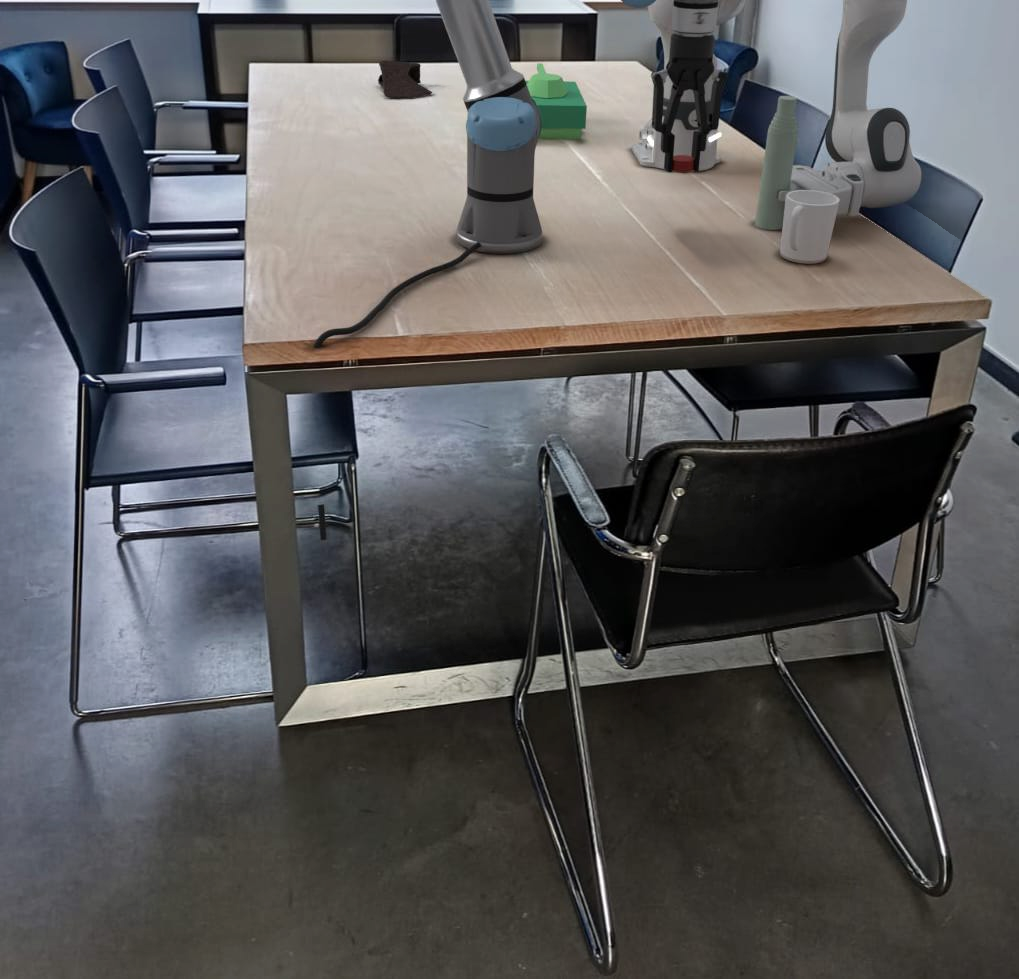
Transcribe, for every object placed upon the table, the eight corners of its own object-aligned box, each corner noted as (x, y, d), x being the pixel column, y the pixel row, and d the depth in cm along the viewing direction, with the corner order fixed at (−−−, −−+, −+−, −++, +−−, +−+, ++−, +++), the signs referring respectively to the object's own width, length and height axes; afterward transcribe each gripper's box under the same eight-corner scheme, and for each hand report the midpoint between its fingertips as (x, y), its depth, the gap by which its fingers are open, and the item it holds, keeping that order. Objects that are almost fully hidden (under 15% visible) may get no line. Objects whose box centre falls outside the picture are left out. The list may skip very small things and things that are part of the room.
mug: (791, 244, 197) (800, 186, 191) (837, 255, 192) (848, 197, 187) (762, 259, 190) (770, 200, 184) (809, 271, 185) (819, 211, 179)
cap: (698, 169, 200) (699, 158, 199) (682, 173, 197) (683, 162, 196) (680, 164, 202) (681, 153, 201) (663, 168, 200) (664, 157, 199)
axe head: (443, 87, 294) (392, 77, 287) (436, 115, 299) (385, 106, 292) (421, 62, 307) (371, 52, 300) (414, 89, 311) (365, 80, 304)
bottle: (762, 230, 204) (780, 101, 191) (750, 221, 208) (767, 94, 196) (788, 229, 205) (808, 100, 192) (776, 220, 209) (794, 94, 197)
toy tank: (573, 59, 279) (587, 89, 249) (570, 109, 285) (584, 143, 255) (503, 58, 278) (510, 87, 248) (502, 108, 284) (508, 142, 254)
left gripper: (649, 37, 183) (640, 177, 196) (749, 35, 186) (733, 173, 198) (638, 30, 190) (629, 166, 202) (734, 28, 192) (720, 162, 204)
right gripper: (813, 155, 213) (748, 158, 209) (868, 184, 196) (798, 188, 193) (808, 187, 216) (743, 191, 213) (861, 219, 199) (792, 223, 196)
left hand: (681, 169), depth 200 cm, fingers closed on cap, 4 cm apart
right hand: (770, 190), depth 203 cm, fingers closed on bottle, 5 cm apart
